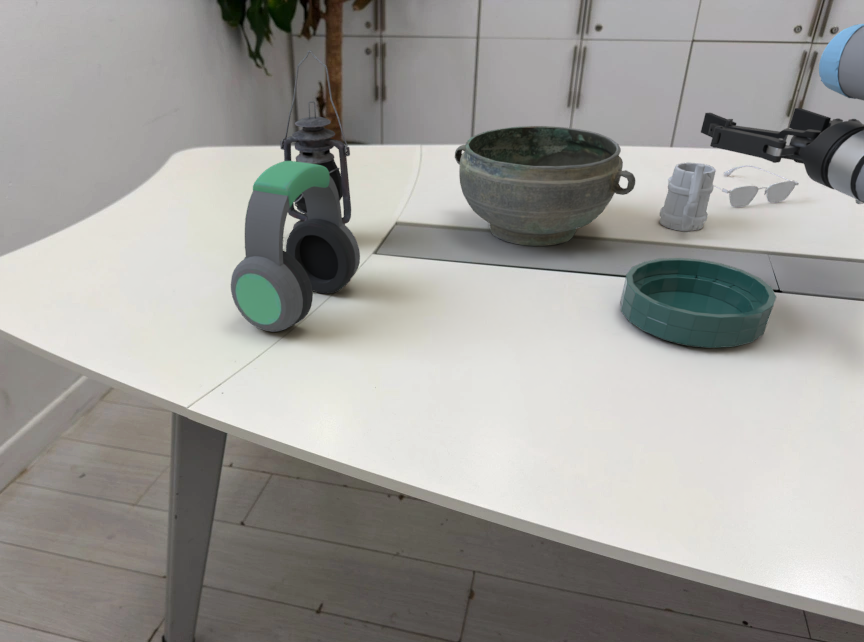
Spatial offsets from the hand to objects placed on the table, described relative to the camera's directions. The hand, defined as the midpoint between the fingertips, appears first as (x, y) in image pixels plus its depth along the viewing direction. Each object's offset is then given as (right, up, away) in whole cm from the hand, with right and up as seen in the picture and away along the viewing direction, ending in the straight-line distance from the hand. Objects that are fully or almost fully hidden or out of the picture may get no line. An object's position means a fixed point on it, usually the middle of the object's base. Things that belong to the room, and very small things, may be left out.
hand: (749, 120), depth 98 cm
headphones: (-65, -28, -2) cm, 71 cm away
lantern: (-64, -14, +18) cm, 68 cm away
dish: (-13, -30, -8) cm, 33 cm away
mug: (-1, -11, +19) cm, 22 cm away
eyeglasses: (+16, -1, +35) cm, 38 cm away
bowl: (-27, -12, +20) cm, 35 cm away
